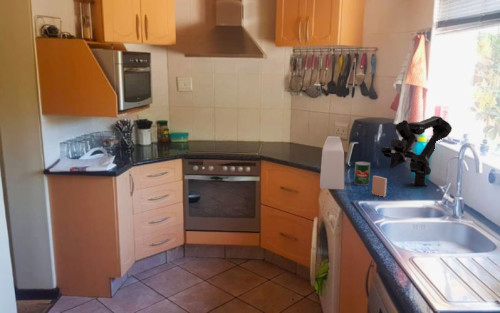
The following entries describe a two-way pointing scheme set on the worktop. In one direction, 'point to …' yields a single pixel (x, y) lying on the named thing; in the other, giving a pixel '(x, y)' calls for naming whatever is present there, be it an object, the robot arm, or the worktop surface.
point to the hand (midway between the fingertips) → (390, 167)
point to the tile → (379, 186)
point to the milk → (332, 164)
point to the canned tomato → (362, 173)
